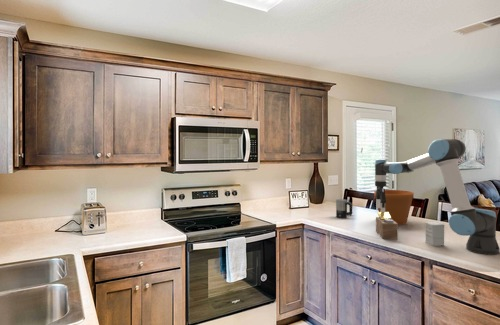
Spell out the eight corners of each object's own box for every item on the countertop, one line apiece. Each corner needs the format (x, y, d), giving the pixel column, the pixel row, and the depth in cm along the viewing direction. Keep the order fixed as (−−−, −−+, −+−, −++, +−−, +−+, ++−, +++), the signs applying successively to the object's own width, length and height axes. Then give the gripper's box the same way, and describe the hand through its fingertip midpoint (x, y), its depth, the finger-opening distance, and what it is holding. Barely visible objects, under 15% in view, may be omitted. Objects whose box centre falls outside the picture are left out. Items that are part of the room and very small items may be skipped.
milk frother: (335, 218, 269) (335, 200, 268) (335, 214, 284) (335, 197, 283) (353, 218, 265) (353, 201, 264) (352, 214, 280) (352, 198, 280)
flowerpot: (421, 223, 244) (421, 192, 243) (396, 228, 231) (396, 195, 230) (390, 216, 269) (390, 189, 268) (366, 220, 256) (366, 191, 255)
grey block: (393, 237, 204) (393, 220, 204) (386, 237, 205) (386, 220, 205) (390, 235, 211) (390, 218, 211) (383, 234, 212) (383, 218, 212)
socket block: (397, 239, 204) (397, 223, 203) (382, 238, 205) (382, 223, 205) (389, 231, 222) (389, 217, 222) (376, 231, 224) (375, 217, 223)
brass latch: (391, 218, 214) (388, 212, 221) (380, 218, 215) (377, 212, 223) (391, 219, 214) (388, 213, 222) (380, 219, 215) (377, 213, 223)
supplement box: (436, 242, 196) (436, 221, 195) (444, 245, 188) (444, 224, 188) (425, 242, 195) (425, 222, 195) (432, 246, 188) (432, 224, 187)
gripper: (391, 182, 214) (390, 214, 216) (381, 178, 239) (381, 206, 240) (379, 182, 216) (379, 213, 217) (371, 178, 240) (371, 206, 242)
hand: (380, 210), depth 229 cm, fingers open, 13 cm apart
